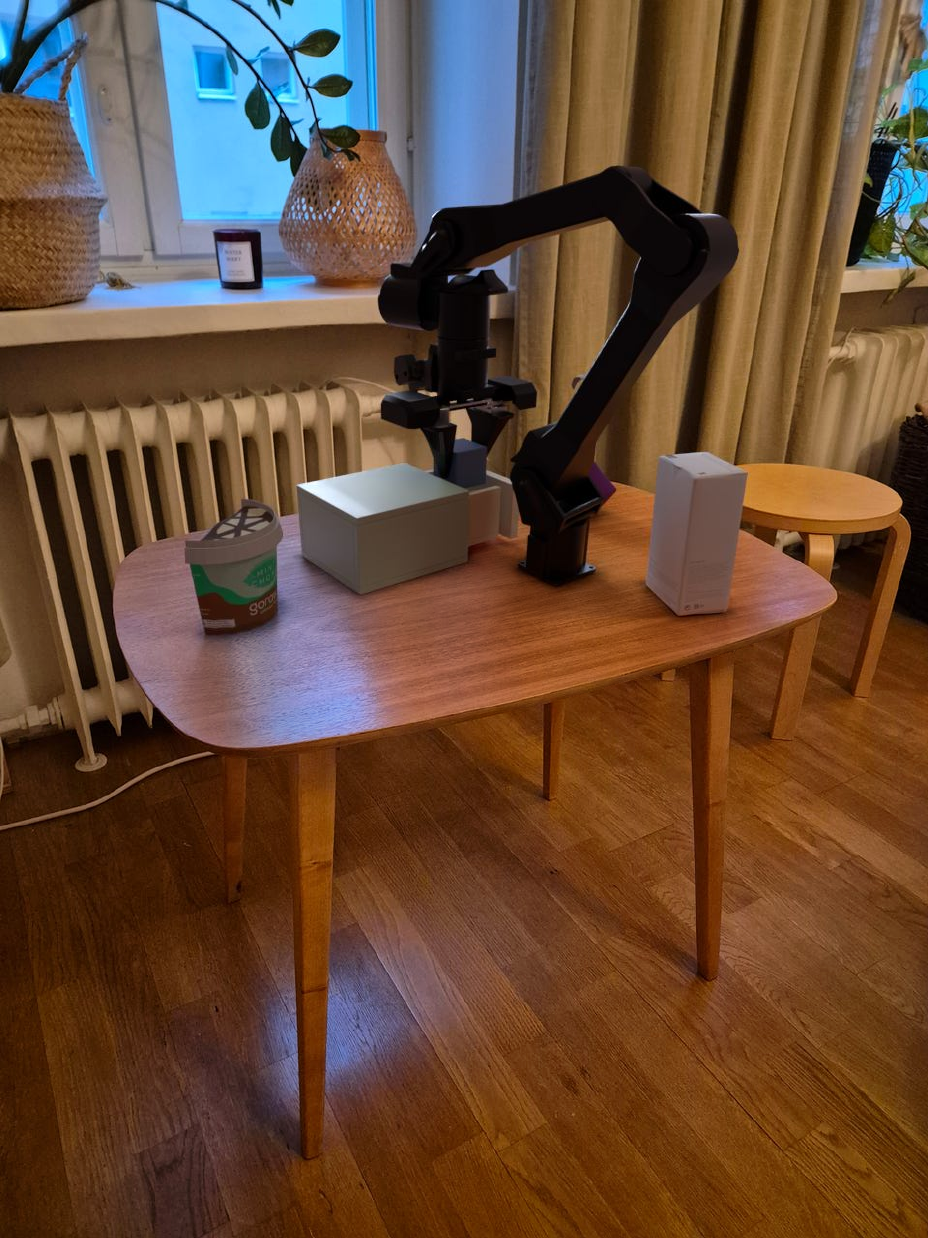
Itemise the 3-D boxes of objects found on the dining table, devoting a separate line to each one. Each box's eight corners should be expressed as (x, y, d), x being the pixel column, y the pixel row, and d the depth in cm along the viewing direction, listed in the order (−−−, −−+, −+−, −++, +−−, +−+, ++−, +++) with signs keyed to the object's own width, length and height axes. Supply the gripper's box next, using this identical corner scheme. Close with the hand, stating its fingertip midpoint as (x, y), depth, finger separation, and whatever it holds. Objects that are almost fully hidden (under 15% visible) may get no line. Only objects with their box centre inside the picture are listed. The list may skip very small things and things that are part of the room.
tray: (484, 503, 107) (486, 453, 103) (543, 529, 99) (547, 476, 96) (372, 532, 97) (370, 478, 93) (428, 564, 89) (428, 506, 86)
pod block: (462, 474, 98) (463, 437, 96) (486, 483, 95) (487, 446, 92) (433, 480, 95) (433, 443, 93) (456, 490, 92) (457, 452, 90)
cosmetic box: (727, 613, 82) (755, 473, 75) (673, 618, 81) (697, 476, 74) (689, 578, 89) (712, 448, 82) (639, 583, 88) (658, 451, 81)
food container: (258, 649, 73) (247, 549, 69) (197, 641, 74) (181, 542, 70) (308, 592, 84) (301, 502, 79) (253, 585, 85) (243, 496, 80)
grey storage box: (405, 528, 100) (404, 462, 96) (467, 561, 92) (469, 490, 88) (301, 556, 92) (296, 484, 88) (360, 595, 84) (356, 518, 80)
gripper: (481, 320, 98) (477, 445, 105) (350, 332, 87) (356, 470, 95) (544, 333, 90) (535, 467, 98) (409, 348, 80) (411, 496, 87)
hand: (460, 474), depth 94 cm, fingers closed on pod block, 4 cm apart
